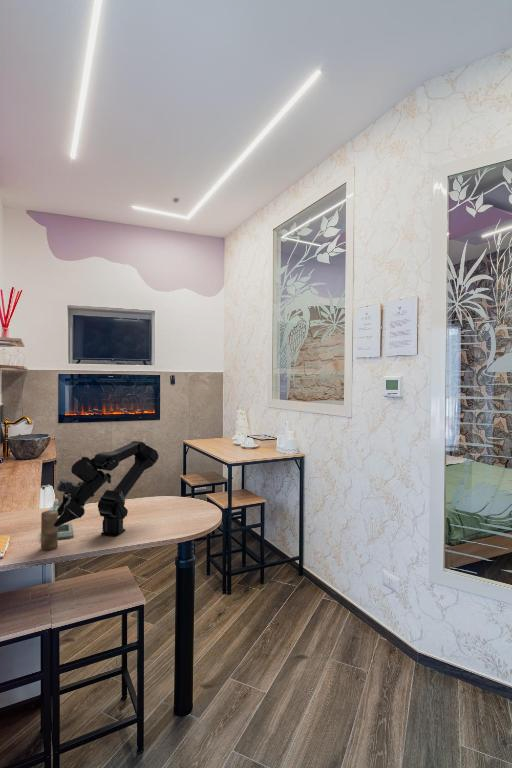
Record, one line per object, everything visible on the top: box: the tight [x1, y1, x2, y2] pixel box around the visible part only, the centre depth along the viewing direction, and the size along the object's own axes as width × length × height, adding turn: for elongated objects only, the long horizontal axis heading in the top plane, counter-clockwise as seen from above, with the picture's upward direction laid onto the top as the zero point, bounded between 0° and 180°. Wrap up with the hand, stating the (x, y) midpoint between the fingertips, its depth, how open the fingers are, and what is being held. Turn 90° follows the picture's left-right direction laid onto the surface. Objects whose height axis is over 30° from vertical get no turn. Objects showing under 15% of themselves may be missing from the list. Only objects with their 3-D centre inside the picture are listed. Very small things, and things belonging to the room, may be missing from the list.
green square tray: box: [58, 522, 74, 540], centre depth 156 cm, size 10×10×2 cm
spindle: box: [40, 509, 59, 552], centre depth 144 cm, size 5×5×12 cm
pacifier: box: [47, 498, 60, 511], centre depth 177 cm, size 7×6×6 cm
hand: (54, 521), depth 144 cm, fingers open, 9 cm apart
